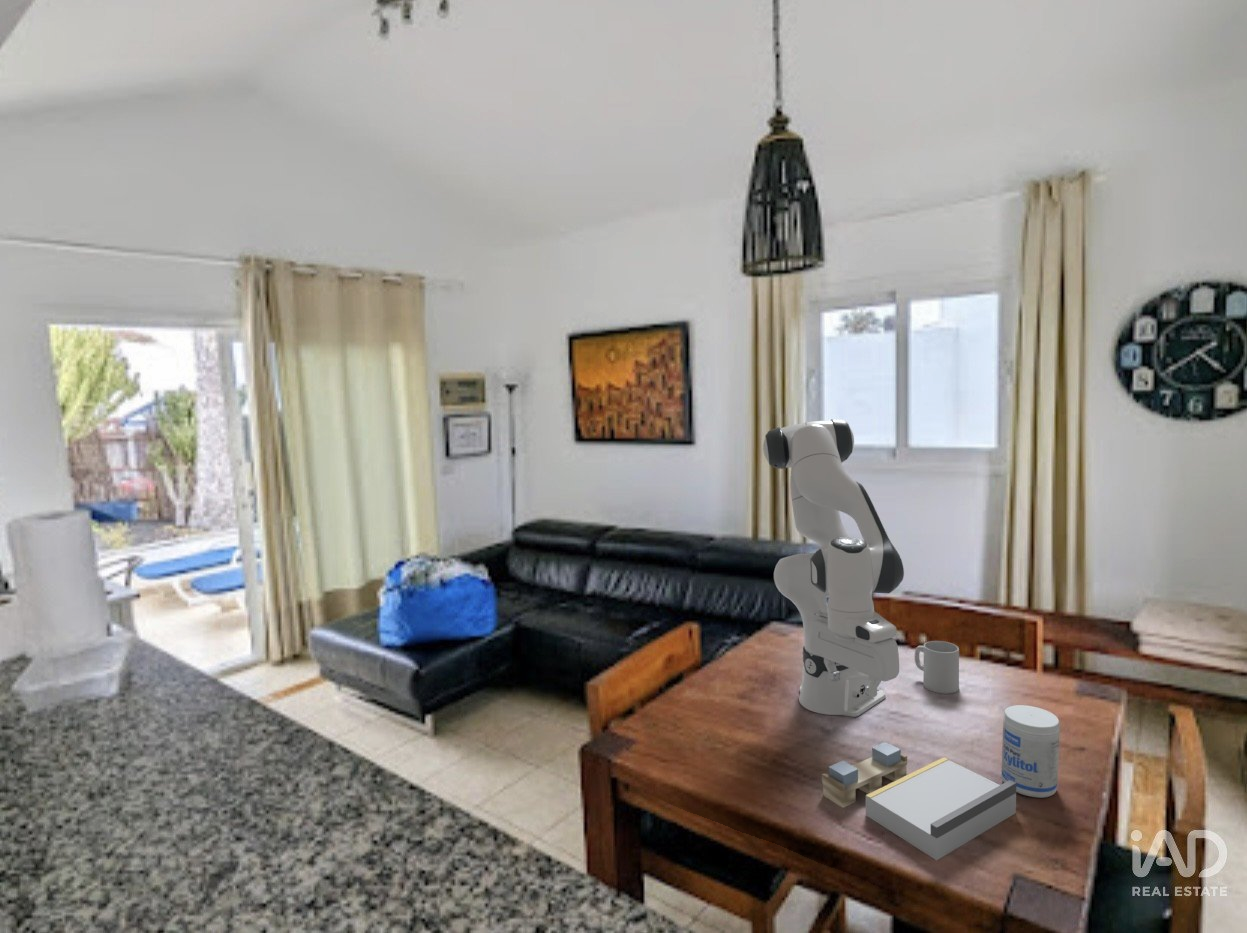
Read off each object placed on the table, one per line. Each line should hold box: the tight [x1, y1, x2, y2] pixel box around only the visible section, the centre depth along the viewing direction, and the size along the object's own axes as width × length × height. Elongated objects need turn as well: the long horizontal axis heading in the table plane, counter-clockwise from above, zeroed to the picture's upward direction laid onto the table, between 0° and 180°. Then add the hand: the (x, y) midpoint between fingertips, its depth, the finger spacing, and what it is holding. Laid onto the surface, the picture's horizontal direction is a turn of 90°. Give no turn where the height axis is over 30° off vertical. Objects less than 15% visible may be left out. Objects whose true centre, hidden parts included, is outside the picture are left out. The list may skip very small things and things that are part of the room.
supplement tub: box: [1000, 704, 1061, 799], centre depth 136 cm, size 10×10×15 cm
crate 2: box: [871, 741, 902, 767], centre depth 142 cm, size 4×4×2 cm
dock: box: [865, 757, 1017, 861], centre depth 129 cm, size 23×15×6 cm, turn 120°
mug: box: [914, 640, 960, 695], centre depth 182 cm, size 12×8×11 cm
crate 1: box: [828, 760, 858, 787], centre depth 136 cm, size 4×4×2 cm
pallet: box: [821, 752, 908, 809], centre depth 139 cm, size 19×5×4 cm, turn 120°
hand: (852, 687), depth 138 cm, fingers open, 8 cm apart
